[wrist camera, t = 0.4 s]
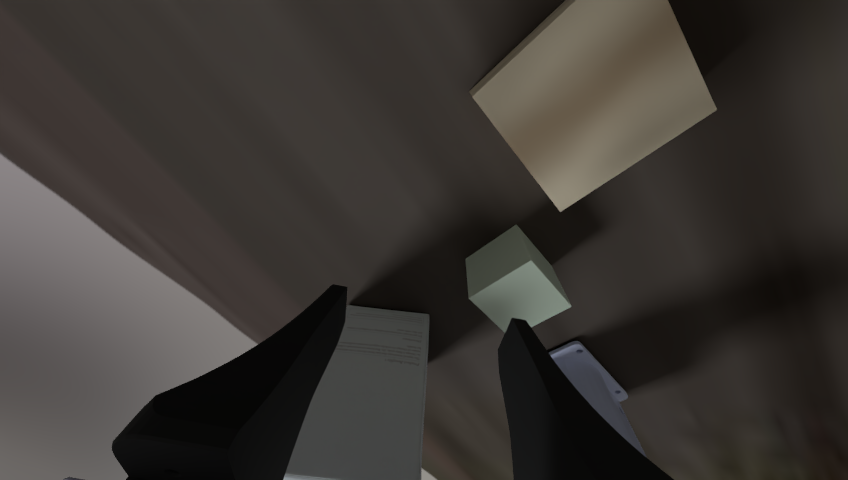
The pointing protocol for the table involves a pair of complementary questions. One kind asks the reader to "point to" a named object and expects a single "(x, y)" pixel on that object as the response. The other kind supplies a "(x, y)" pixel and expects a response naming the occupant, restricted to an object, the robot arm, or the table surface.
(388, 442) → the supplement box
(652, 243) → the table surface
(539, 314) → the sage cube
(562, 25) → the beech base
